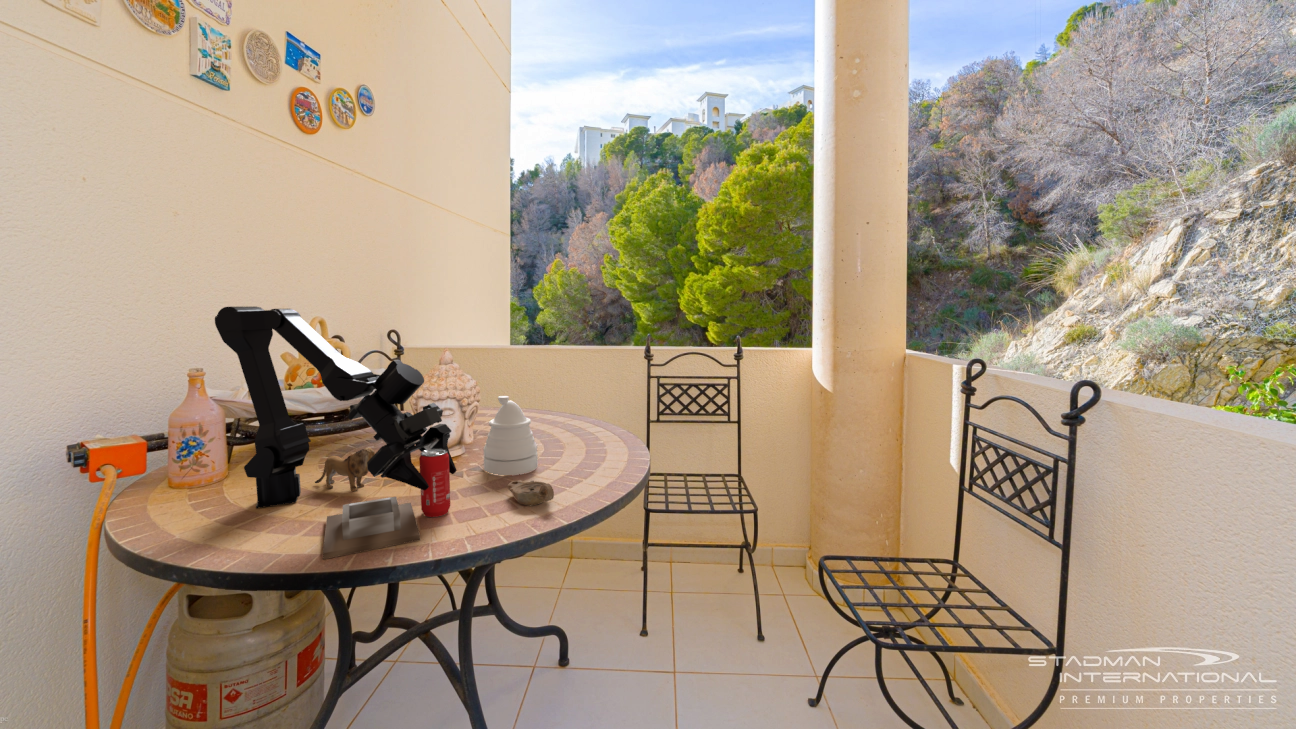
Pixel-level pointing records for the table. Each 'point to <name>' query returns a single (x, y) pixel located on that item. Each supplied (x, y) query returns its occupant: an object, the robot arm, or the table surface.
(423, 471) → the beverage can
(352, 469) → the lion figurine
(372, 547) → the can socket board
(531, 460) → the honey pot
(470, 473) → the table surface
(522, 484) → the oil lamp
